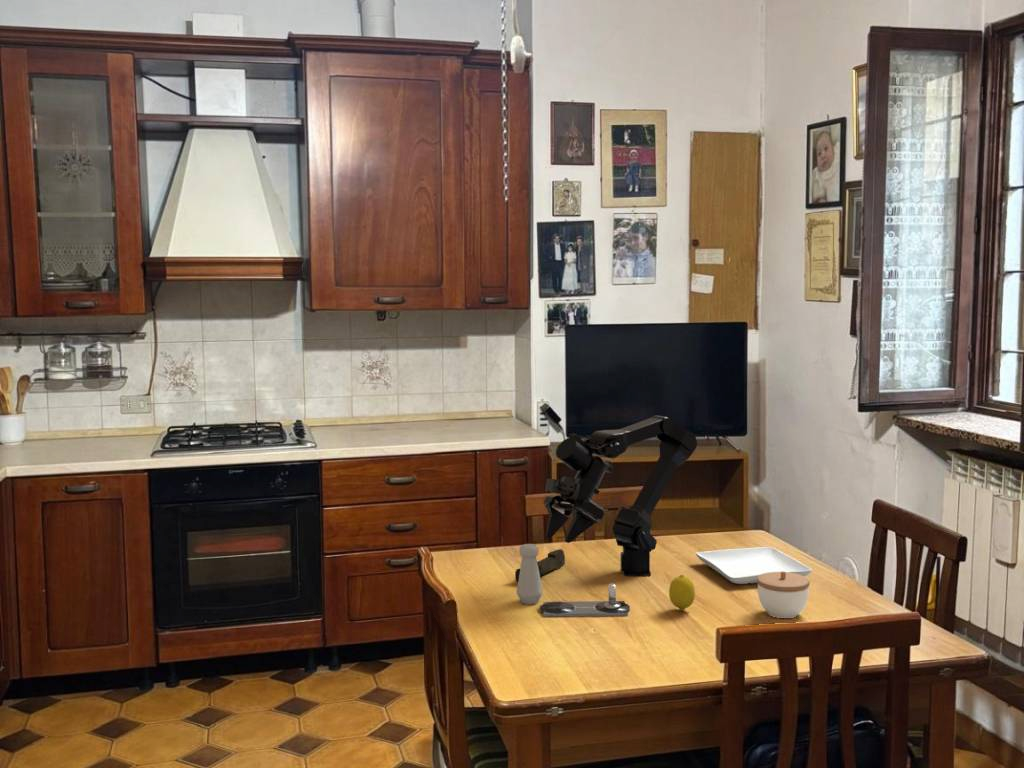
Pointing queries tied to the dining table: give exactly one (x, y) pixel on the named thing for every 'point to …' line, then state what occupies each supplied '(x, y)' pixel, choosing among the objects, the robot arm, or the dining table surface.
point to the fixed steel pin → (612, 598)
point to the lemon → (682, 592)
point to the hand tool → (548, 563)
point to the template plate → (582, 609)
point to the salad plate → (751, 563)
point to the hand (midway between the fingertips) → (557, 540)
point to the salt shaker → (529, 575)
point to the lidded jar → (783, 593)
